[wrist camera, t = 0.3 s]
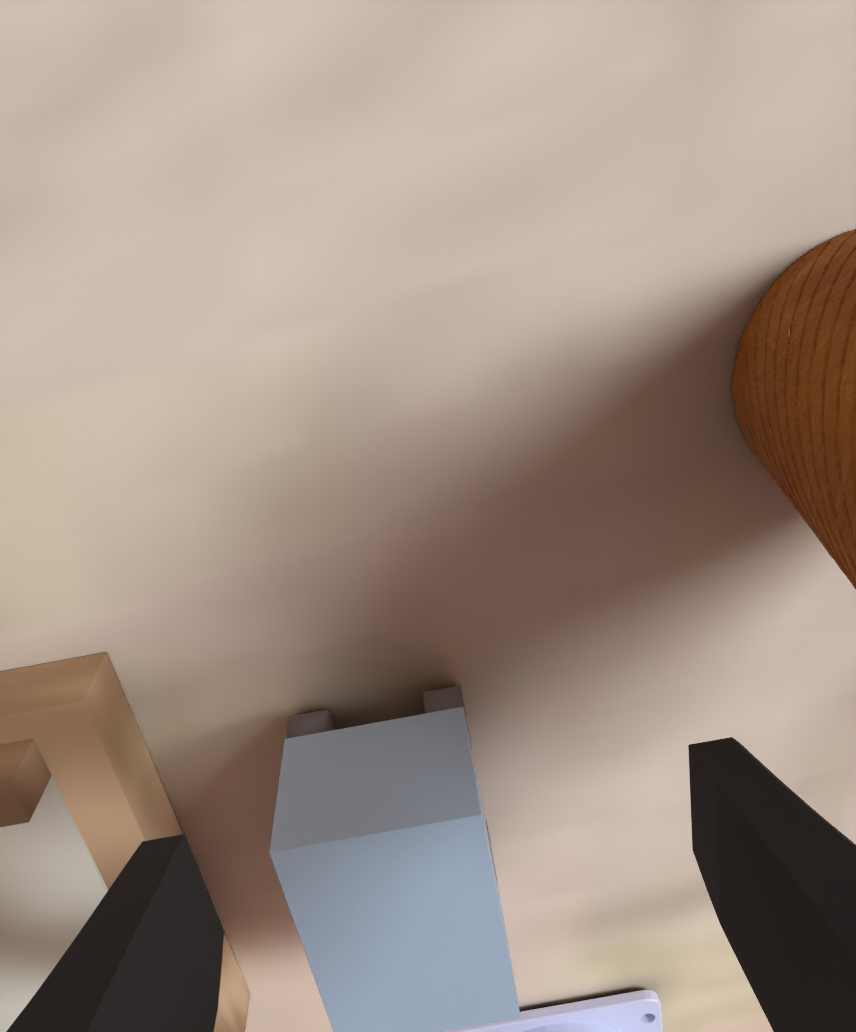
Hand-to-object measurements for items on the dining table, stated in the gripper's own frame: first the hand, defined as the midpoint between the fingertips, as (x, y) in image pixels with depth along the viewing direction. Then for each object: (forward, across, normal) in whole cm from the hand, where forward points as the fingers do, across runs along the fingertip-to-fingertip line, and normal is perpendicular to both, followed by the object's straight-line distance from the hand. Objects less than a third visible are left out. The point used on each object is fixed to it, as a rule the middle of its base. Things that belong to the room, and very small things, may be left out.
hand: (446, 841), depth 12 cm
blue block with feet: (+10, +2, +8) cm, 12 cm away
